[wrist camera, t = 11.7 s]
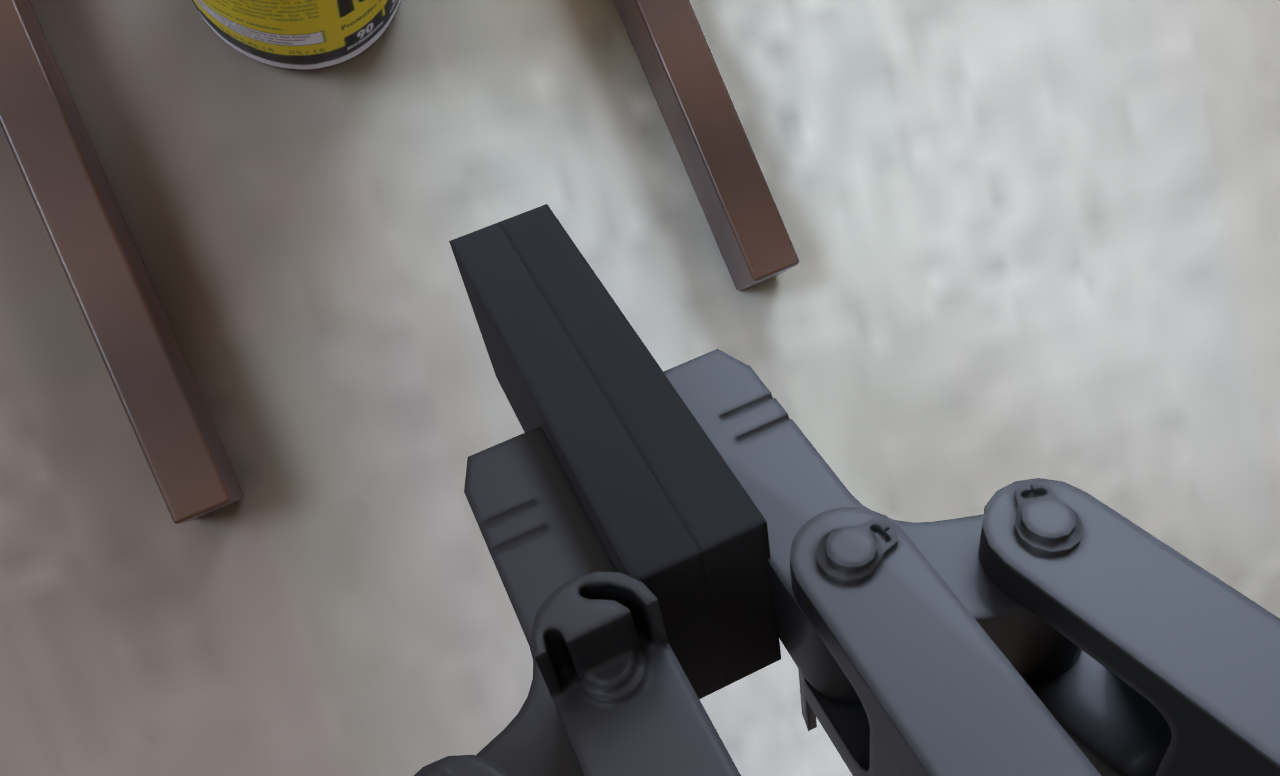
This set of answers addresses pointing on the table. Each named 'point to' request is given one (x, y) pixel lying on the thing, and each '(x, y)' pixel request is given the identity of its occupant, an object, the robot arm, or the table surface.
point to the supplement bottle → (298, 28)
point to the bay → (130, 309)
